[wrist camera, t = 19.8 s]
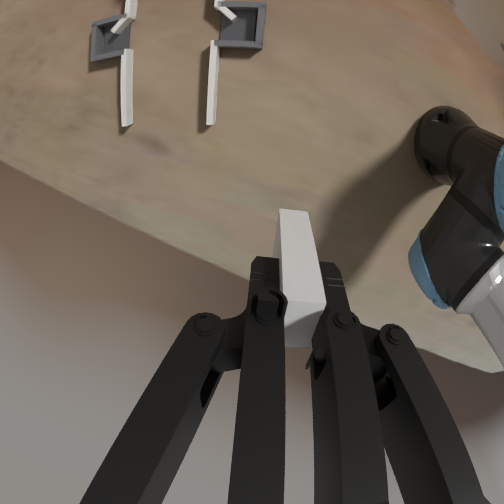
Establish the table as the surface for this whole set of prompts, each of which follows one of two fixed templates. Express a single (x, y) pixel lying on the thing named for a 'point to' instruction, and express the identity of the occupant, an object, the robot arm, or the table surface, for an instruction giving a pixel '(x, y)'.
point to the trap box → (232, 36)
